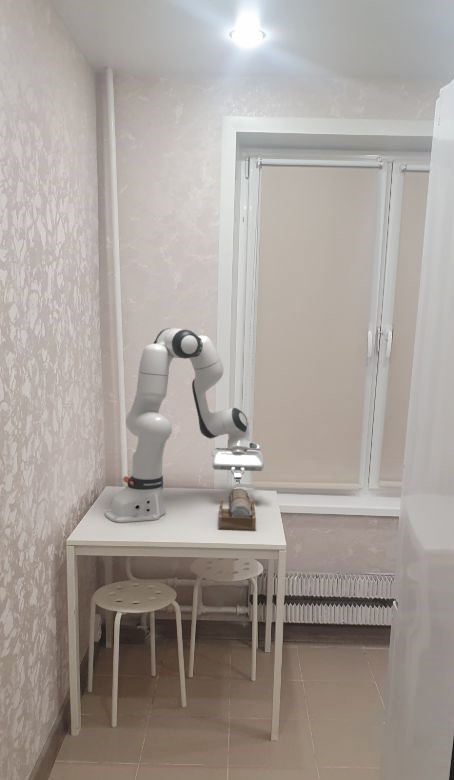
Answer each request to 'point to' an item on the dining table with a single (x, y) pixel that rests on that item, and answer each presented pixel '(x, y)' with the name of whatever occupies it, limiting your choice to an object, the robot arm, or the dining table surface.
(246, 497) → the spray can
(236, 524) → the walnut trough
